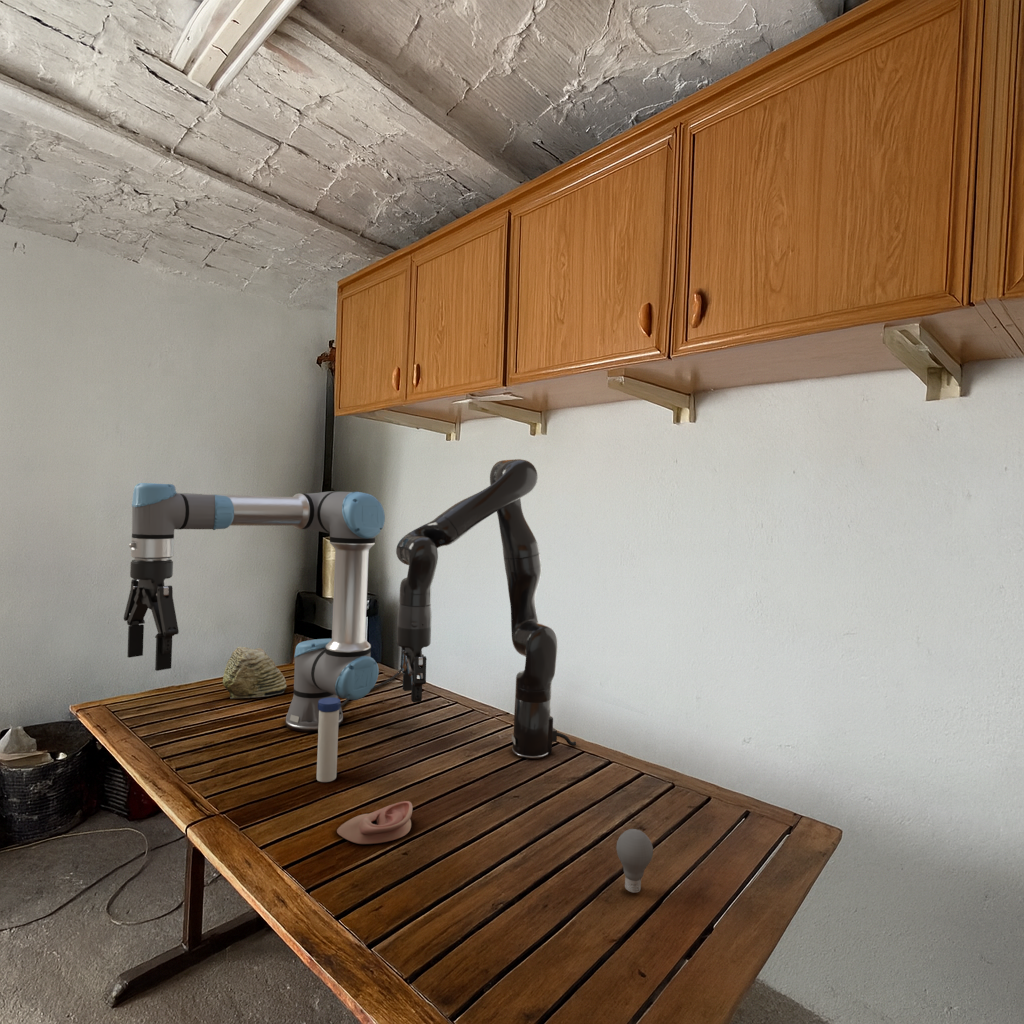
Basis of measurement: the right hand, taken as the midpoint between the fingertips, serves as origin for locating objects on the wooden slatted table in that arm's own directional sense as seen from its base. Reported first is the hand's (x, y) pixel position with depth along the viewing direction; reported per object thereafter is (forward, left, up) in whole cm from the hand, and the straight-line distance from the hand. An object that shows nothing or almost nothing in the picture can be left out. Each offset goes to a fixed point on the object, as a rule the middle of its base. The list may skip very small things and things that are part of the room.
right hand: (411, 695), depth 142 cm
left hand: (+53, -8, +8) cm, 54 cm away
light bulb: (-26, +51, -20) cm, 61 cm away
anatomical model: (+11, +19, -20) cm, 29 cm away
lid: (+17, -7, -2) cm, 19 cm away
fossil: (+31, -73, -20) cm, 82 cm away
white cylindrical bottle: (+17, -7, -20) cm, 27 cm away
